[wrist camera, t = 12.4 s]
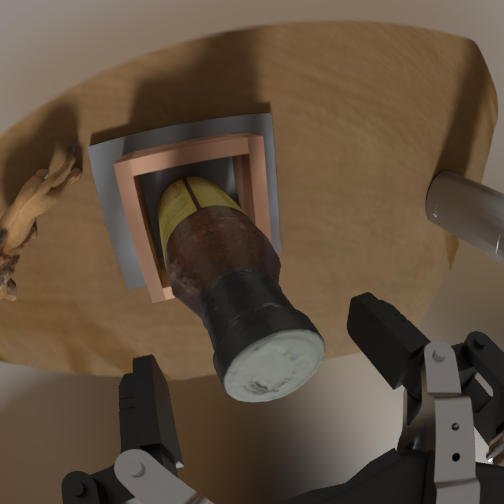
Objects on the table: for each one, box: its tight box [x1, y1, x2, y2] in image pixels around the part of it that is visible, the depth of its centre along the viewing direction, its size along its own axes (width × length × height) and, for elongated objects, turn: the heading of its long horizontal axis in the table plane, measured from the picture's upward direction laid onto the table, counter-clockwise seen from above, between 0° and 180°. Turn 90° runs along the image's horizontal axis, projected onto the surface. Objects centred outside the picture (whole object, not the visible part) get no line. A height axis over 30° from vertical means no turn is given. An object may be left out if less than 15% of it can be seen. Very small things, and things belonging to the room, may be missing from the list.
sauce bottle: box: [158, 176, 325, 402], centre depth 18 cm, size 7×6×20 cm
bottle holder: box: [87, 113, 281, 303], centre depth 24 cm, size 17×15×6 cm
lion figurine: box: [0, 141, 82, 301], centre depth 18 cm, size 15×5×9 cm, turn 135°
